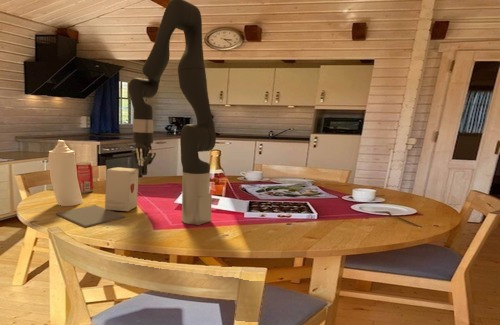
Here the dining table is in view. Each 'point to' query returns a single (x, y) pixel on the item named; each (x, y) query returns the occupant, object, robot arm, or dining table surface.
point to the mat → (90, 215)
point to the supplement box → (121, 189)
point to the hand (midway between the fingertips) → (143, 174)
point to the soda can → (85, 177)
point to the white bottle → (64, 175)
